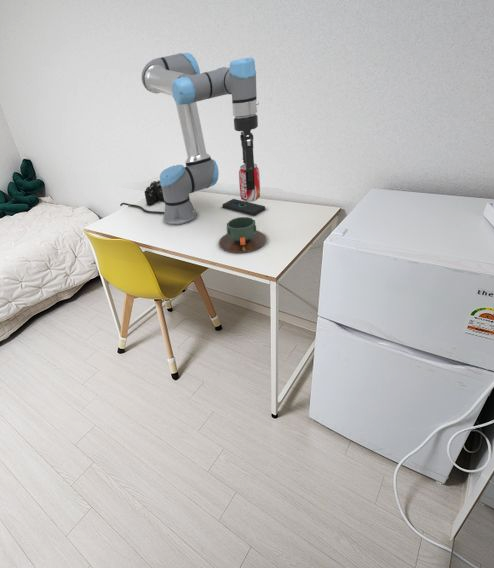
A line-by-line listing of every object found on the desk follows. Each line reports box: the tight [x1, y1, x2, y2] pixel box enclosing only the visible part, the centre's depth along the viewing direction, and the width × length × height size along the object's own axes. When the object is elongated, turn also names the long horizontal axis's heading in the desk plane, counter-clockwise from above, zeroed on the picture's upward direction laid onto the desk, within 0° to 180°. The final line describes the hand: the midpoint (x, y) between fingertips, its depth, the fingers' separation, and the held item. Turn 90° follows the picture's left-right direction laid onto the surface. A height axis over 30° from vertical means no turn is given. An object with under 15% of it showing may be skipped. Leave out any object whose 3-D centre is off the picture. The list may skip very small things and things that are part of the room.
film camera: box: [144, 179, 164, 206], centre depth 188 cm, size 18×12×10 cm
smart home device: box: [222, 198, 266, 217], centre depth 162 cm, size 8×2×20 cm
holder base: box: [218, 230, 267, 254], centre depth 135 cm, size 18×18×3 cm
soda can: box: [238, 163, 261, 203], centre depth 123 cm, size 7×7×12 cm
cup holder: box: [226, 216, 257, 245], centre depth 131 cm, size 14×11×5 cm
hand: (249, 185), depth 124 cm, fingers closed on soda can, 7 cm apart
